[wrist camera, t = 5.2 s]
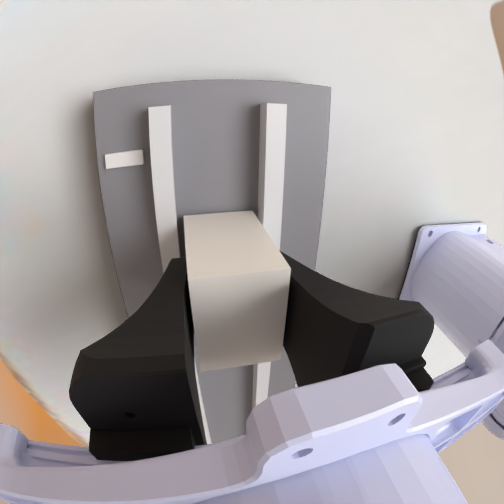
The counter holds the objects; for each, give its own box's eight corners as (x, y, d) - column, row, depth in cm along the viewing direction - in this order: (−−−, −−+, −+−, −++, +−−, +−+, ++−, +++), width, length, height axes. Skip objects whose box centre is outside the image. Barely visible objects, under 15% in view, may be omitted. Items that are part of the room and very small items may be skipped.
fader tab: (252, 210, 13) (291, 268, 9) (250, 286, 15) (280, 359, 11) (183, 215, 12) (187, 279, 8) (190, 293, 14) (200, 371, 10)
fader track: (312, 87, 13) (342, 86, 10) (276, 428, 27) (284, 451, 25) (104, 93, 11) (86, 91, 8) (180, 442, 25) (183, 467, 22)
